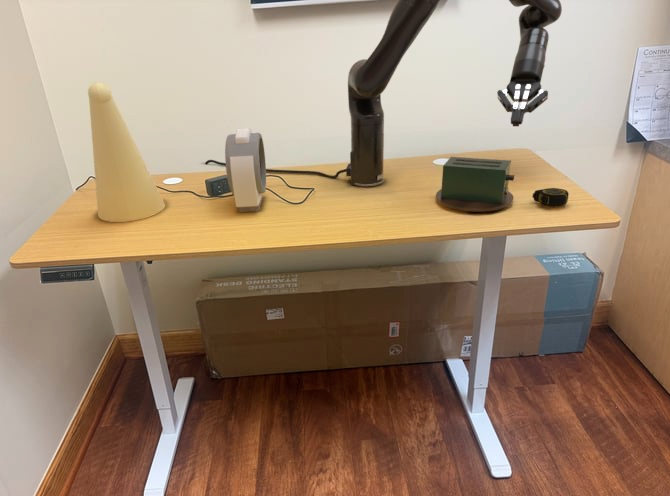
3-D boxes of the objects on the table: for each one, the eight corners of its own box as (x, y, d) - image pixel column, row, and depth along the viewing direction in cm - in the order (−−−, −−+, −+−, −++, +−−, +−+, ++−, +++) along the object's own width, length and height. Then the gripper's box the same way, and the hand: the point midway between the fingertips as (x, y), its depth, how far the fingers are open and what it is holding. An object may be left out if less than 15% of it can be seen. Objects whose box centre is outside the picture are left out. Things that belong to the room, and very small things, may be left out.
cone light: (100, 203, 154) (67, 75, 137) (164, 195, 158) (139, 68, 140) (92, 235, 133) (51, 88, 116) (166, 224, 137) (136, 79, 119)
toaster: (427, 206, 134) (429, 170, 129) (445, 183, 148) (447, 150, 144) (506, 215, 126) (512, 177, 121) (518, 189, 140) (523, 155, 136)
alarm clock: (263, 215, 138) (255, 137, 128) (231, 217, 138) (220, 139, 128) (269, 193, 153) (262, 121, 143) (240, 194, 154) (231, 123, 144)
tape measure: (555, 199, 135) (558, 185, 133) (572, 208, 129) (575, 193, 127) (531, 202, 134) (533, 188, 133) (546, 211, 128) (549, 196, 127)
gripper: (501, 57, 139) (488, 115, 136) (556, 56, 134) (544, 117, 130) (502, 76, 146) (489, 131, 142) (554, 76, 140) (542, 133, 137)
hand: (515, 124), depth 136 cm, fingers closed
